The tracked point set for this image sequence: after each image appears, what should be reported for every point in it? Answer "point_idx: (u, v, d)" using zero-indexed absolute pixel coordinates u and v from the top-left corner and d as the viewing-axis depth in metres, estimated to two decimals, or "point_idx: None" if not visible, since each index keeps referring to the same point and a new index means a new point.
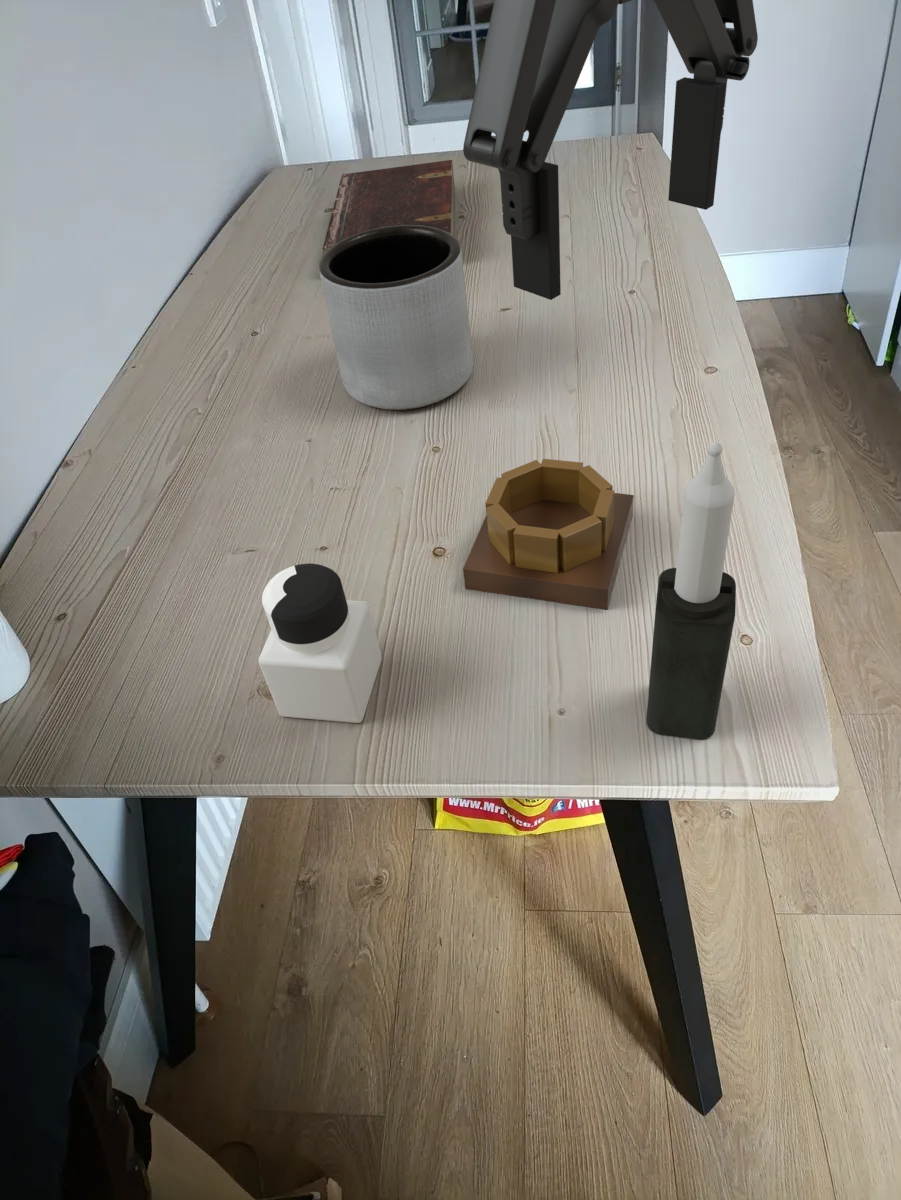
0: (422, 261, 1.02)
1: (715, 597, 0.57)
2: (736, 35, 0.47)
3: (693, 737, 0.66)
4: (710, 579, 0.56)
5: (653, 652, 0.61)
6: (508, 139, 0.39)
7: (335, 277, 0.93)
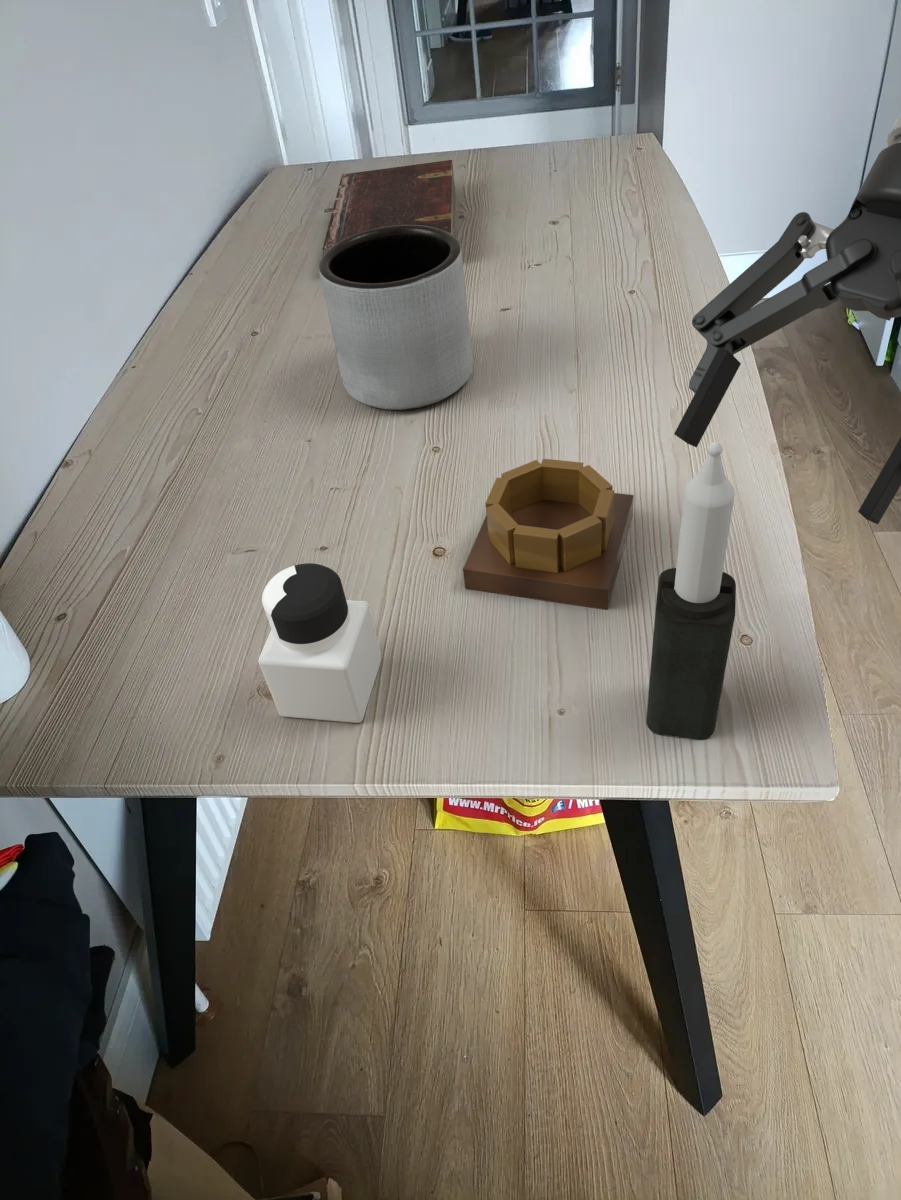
0: (422, 261, 1.02)
1: (715, 597, 0.57)
2: None
3: (693, 737, 0.66)
4: (710, 579, 0.56)
5: (653, 652, 0.61)
6: (705, 311, 0.61)
7: (335, 277, 0.93)
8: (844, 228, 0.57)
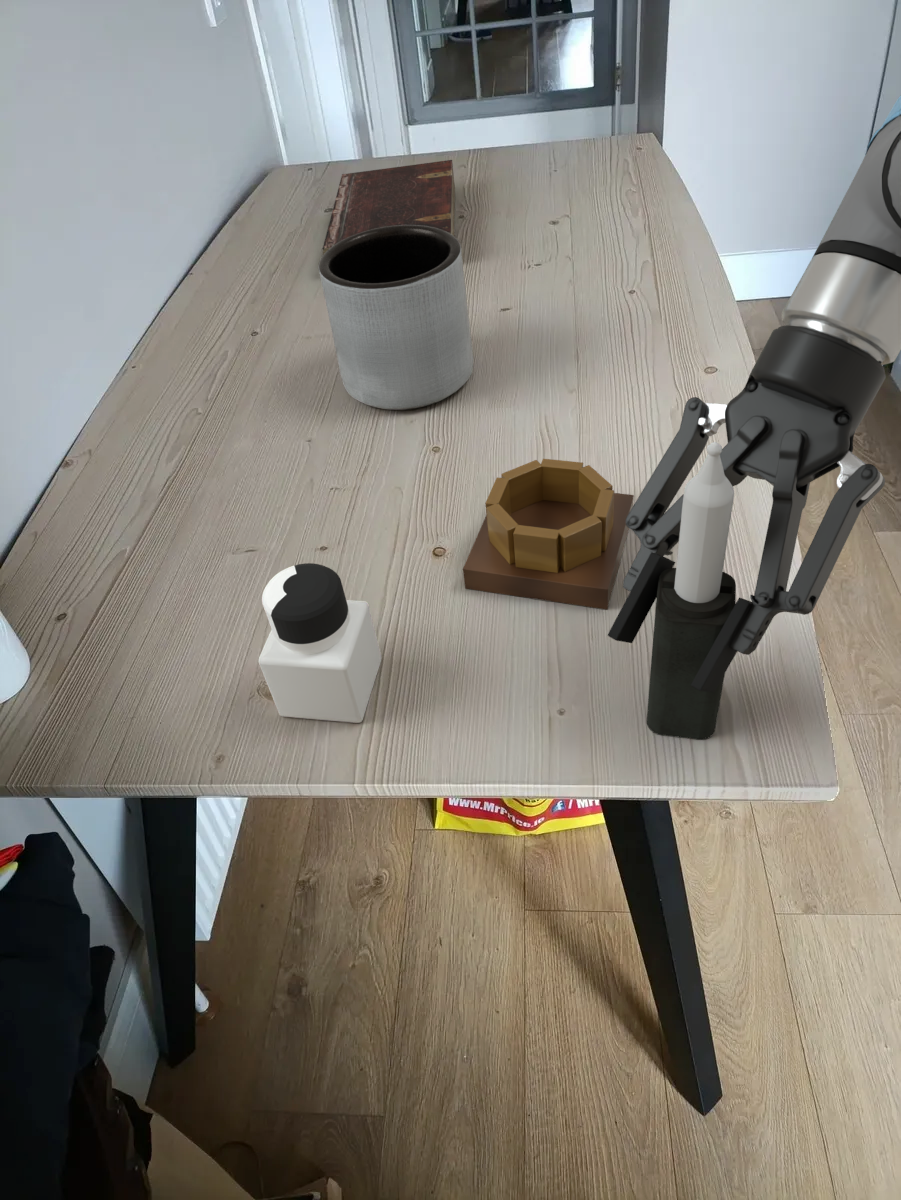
0: (422, 261, 1.02)
1: (715, 597, 0.57)
2: None
3: (693, 737, 0.66)
4: (710, 579, 0.56)
5: (653, 652, 0.61)
6: (634, 510, 0.61)
7: (335, 277, 0.93)
8: (741, 400, 0.58)
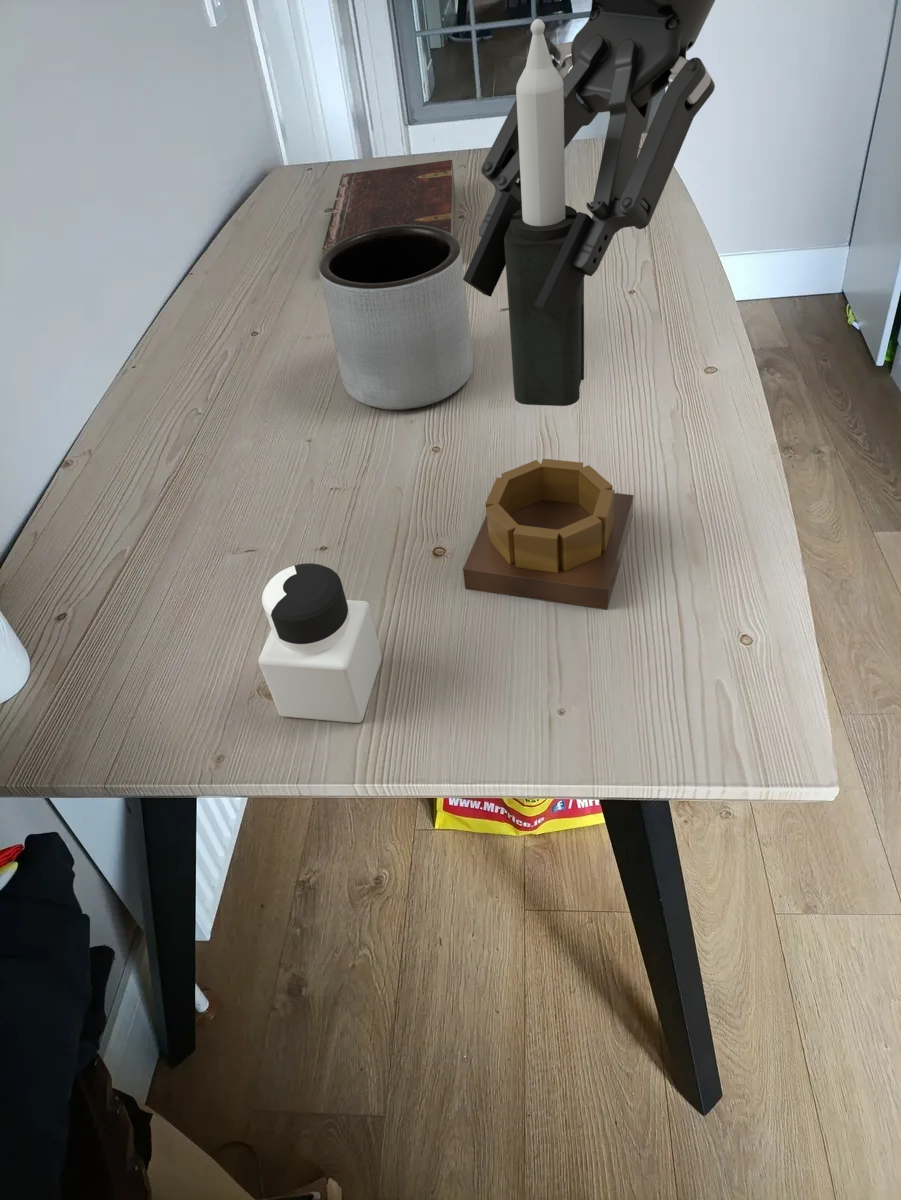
0: (422, 261, 1.02)
1: (559, 221, 0.59)
2: None
3: (557, 403, 0.67)
4: (550, 193, 0.58)
5: (508, 296, 0.63)
6: (489, 158, 0.63)
7: (335, 277, 0.93)
8: (585, 30, 0.59)
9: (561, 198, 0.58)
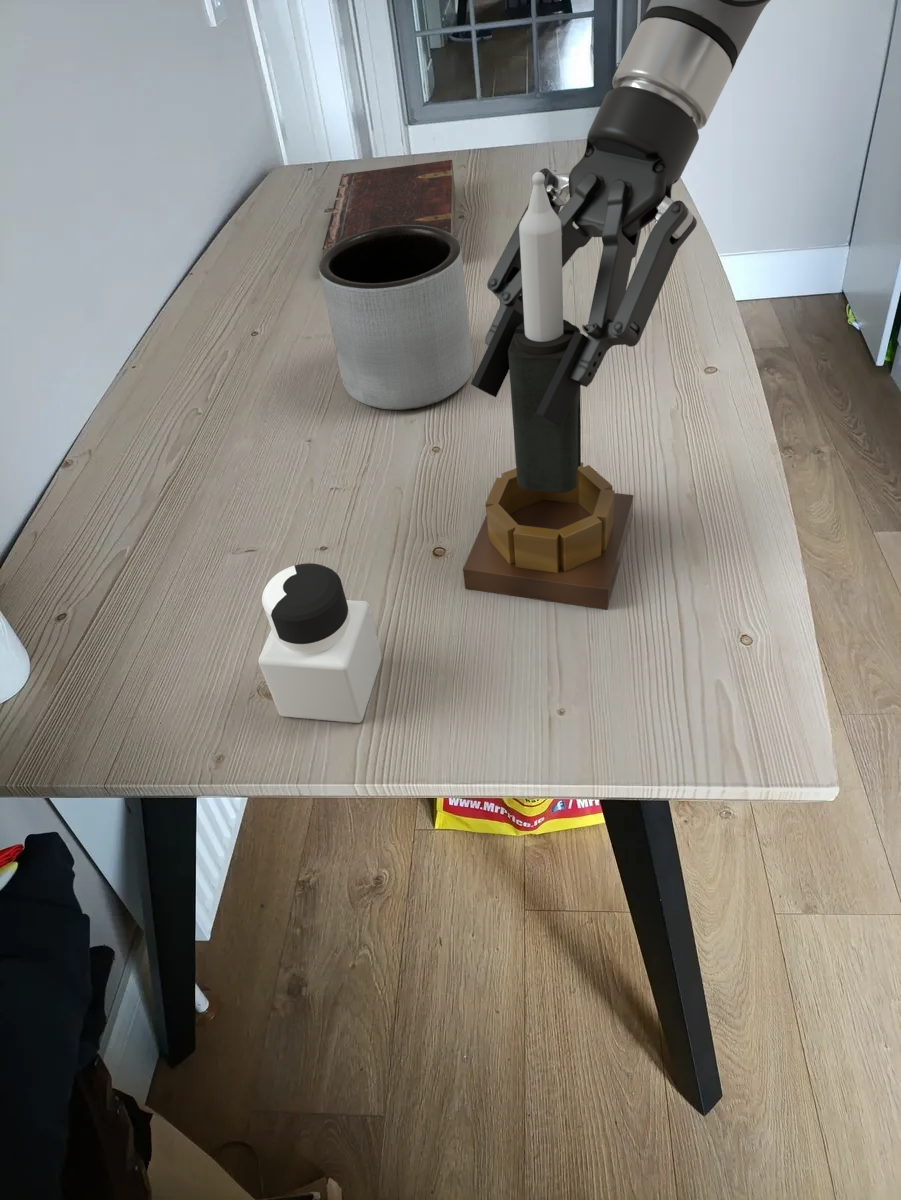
0: (422, 261, 1.02)
1: (558, 337, 0.66)
2: None
3: (556, 490, 0.74)
4: (549, 315, 0.64)
5: (511, 399, 0.69)
6: (494, 274, 0.69)
7: (335, 277, 0.93)
8: (580, 165, 0.66)
9: (559, 318, 0.65)
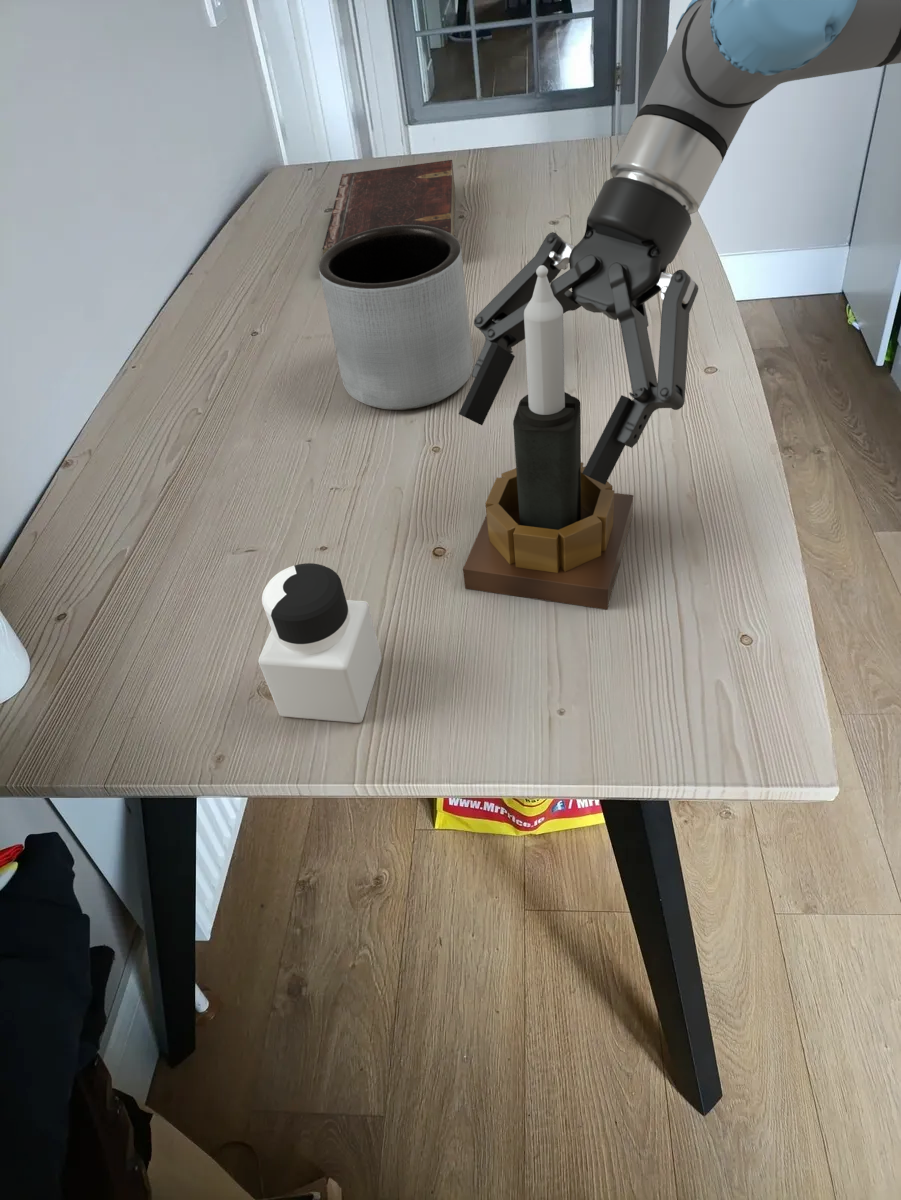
0: (422, 261, 1.02)
1: (559, 410, 0.70)
2: None
3: None
4: (552, 391, 0.69)
5: (516, 465, 0.74)
6: (483, 313, 0.75)
7: (335, 277, 0.93)
8: (580, 245, 0.70)
9: (561, 393, 0.69)
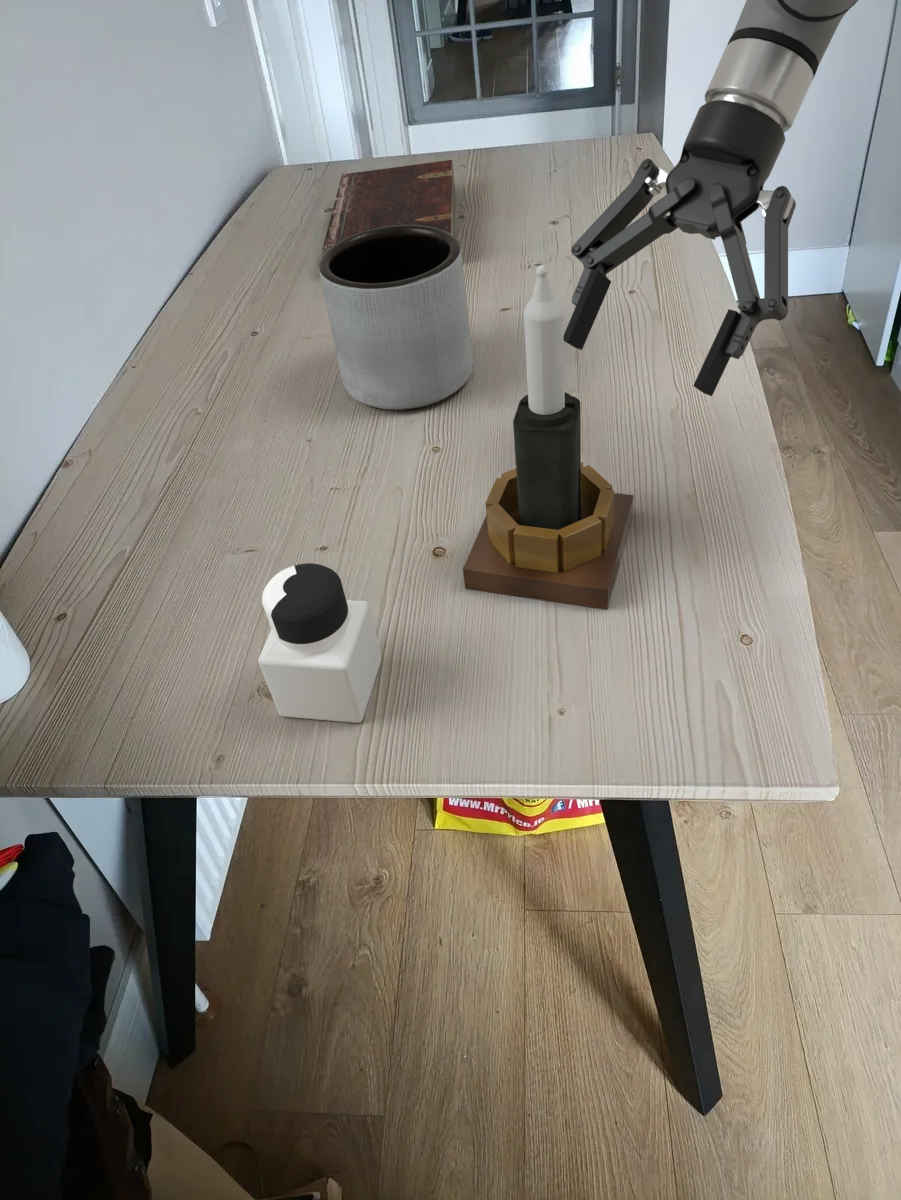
0: (422, 261, 1.02)
1: (559, 410, 0.70)
2: None
3: None
4: (552, 391, 0.69)
5: (516, 465, 0.74)
6: (580, 241, 0.79)
7: (335, 277, 0.93)
8: (677, 170, 0.74)
9: (561, 393, 0.69)
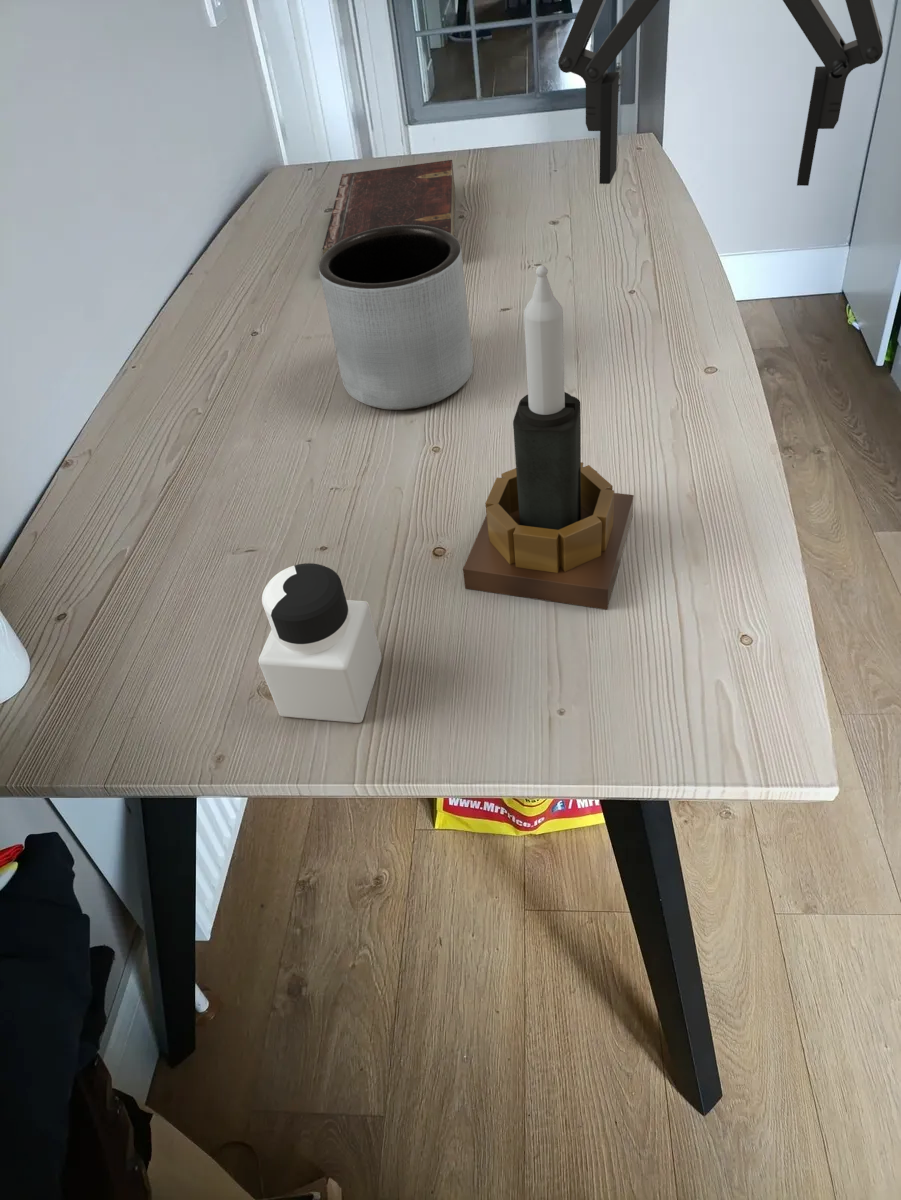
0: (422, 261, 1.02)
1: (559, 410, 0.70)
2: (857, 41, 0.54)
3: None
4: (552, 391, 0.69)
5: (516, 465, 0.74)
6: (566, 51, 0.59)
7: (335, 277, 0.93)
8: None
9: (561, 393, 0.69)
